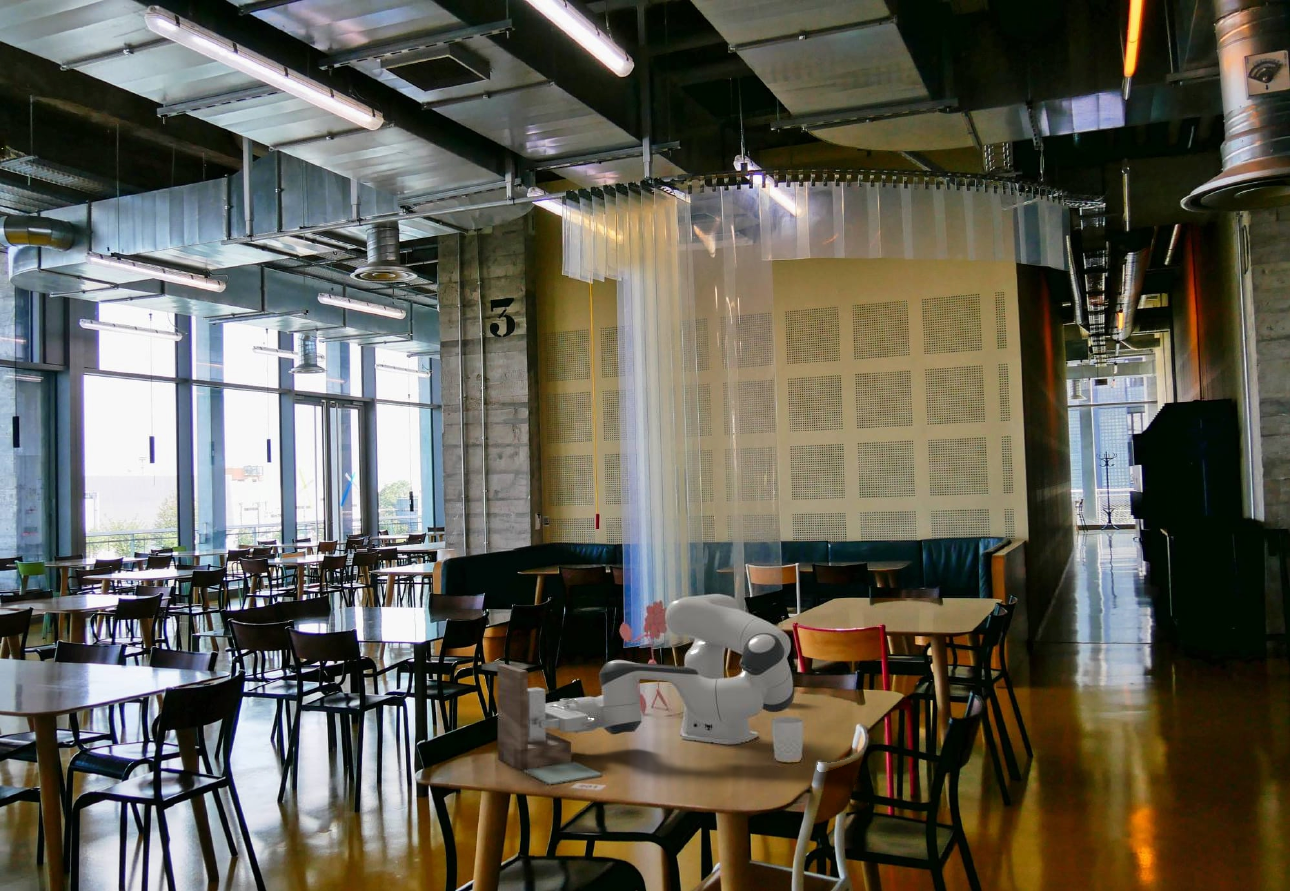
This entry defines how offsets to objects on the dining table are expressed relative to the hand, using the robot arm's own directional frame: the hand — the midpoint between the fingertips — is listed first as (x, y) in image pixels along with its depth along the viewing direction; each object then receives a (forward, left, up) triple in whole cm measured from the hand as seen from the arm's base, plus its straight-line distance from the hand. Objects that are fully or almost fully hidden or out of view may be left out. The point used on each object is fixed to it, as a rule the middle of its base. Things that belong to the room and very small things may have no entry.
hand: (531, 721), depth 252 cm
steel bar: (0, -1, -10) cm, 10 cm away
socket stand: (0, -1, -10) cm, 10 cm away
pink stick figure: (+16, -67, -10) cm, 69 cm away
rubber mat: (-15, +4, -10) cm, 19 cm away
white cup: (-50, -42, -10) cm, 66 cm away
